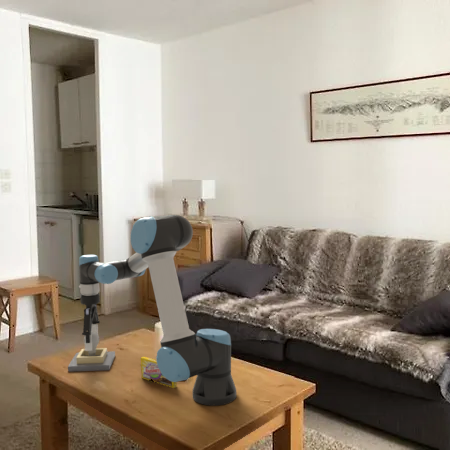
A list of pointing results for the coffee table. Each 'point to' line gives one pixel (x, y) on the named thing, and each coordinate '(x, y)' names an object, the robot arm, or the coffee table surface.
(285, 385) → the coffee table surface
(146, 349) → the coffee table surface
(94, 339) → the lightbulb
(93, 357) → the lamp base
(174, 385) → the candy box
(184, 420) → the coffee table surface
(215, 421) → the coffee table surface
